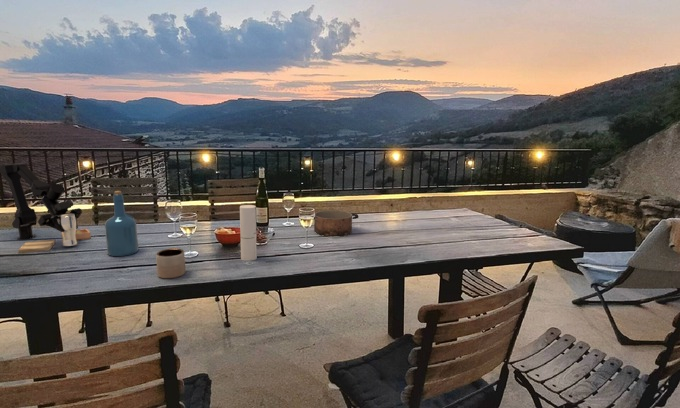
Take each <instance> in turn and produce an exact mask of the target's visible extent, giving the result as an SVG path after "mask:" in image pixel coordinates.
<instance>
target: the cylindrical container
mask: <svg viewBox="0 0 680 408" xmlns="http://www.w3.org/2000/svg"><path fill="white" fill-rule="evenodd" d="M256 208H257V206H256V205H254V204H244V205H242V204H241V205H240V206H239V225H240V231H239V232H240V235H239V236H240V259H241V261H245V262H251V261H256V260H257V256H258V253H257V211H256Z"/></svg>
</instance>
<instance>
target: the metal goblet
mask: <svg viewBox="0 0 680 408" xmlns="http://www.w3.org/2000/svg"><path fill="white" fill-rule="evenodd" d="M58 223H59V224H60V226H61V227H62V228H63V230H64V232H61V231H60V233H61V236H62V246H63V247H71V246H72V247H73V246H77V244H78V241H77V240H76V230H77V229H76V218H75V214H62V215H59V219H58Z"/></svg>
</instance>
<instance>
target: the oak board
mask: <svg viewBox="0 0 680 408" xmlns="http://www.w3.org/2000/svg"><path fill="white" fill-rule="evenodd" d="M24 242H25V243H23V245H21V247H20V248H18V250H17V251H18V254H25V253H35V252H36V253H37V252H45V251H46V252H47V251H51V249H52V248H53V247H54V245H55V244H56V239H45V240H32V241H24Z"/></svg>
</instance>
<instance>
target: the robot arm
mask: <svg viewBox="0 0 680 408" xmlns="http://www.w3.org/2000/svg"><path fill="white" fill-rule="evenodd" d="M0 174H1V176H2V178H3V179H4V180H5V181H7V182H8V185H9V188H10V191H11V194H12V198H13V201H14V204H15V207H16V210H15V212H14V220H13V221H12V224H11V226H12V228H14V229H18V235H19V236H18V237H17V240H26V239H27V240H28V239H33V238H34V237H35V236H36V234H34V232H33V226H36V225H37V223H38V225H39V226H40V227H43V226H45V227H50V228H53V229H55V230H57V231H59V232H60V233H61V232H64V230H63V228H62V227H61V226H60V224H59V215H62V214H75V218H76V230H78V229H79V227H78V219H79V218H80V217H81V215H82V213H83V210H82V208H79V207H78V208H73V209H71V208H72V207H73V206H74V203H73V201H72V199H68V200H66V201H63V202H59V199H60V198H61V197H62V196H63V194H64V193H65V190H66V189H65V187H64V186H63V185H61V184H59V183H57V182H51V183H50V184H49V183H47V182H46V181H43V180H41V179H40V178H39V177H38V176H37V175H36V174H35V173H34V172H33V171H32V170H31V169H30V168H29V166H28V165H27V163H8V164H6V163H5V164H1V165H0ZM21 178H22V179H23V180H24V181H25V182H26V183H27V184H28V185H29V187H30V191H31V193H32V195H33V196H35V197H36V198H41V197H42V198H41V199H40V205H44V206H45V208H46V210H47V211H46V212H47V213H46V214H42V215H40V217H39V219H38V217H37V214H36V211H35V209H34V208H31V207H29V204H28V200H27V198H26V194H25V192H24V188H23V184H22V181H21ZM69 209H71V210H70V212H68V211H69Z"/></svg>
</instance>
